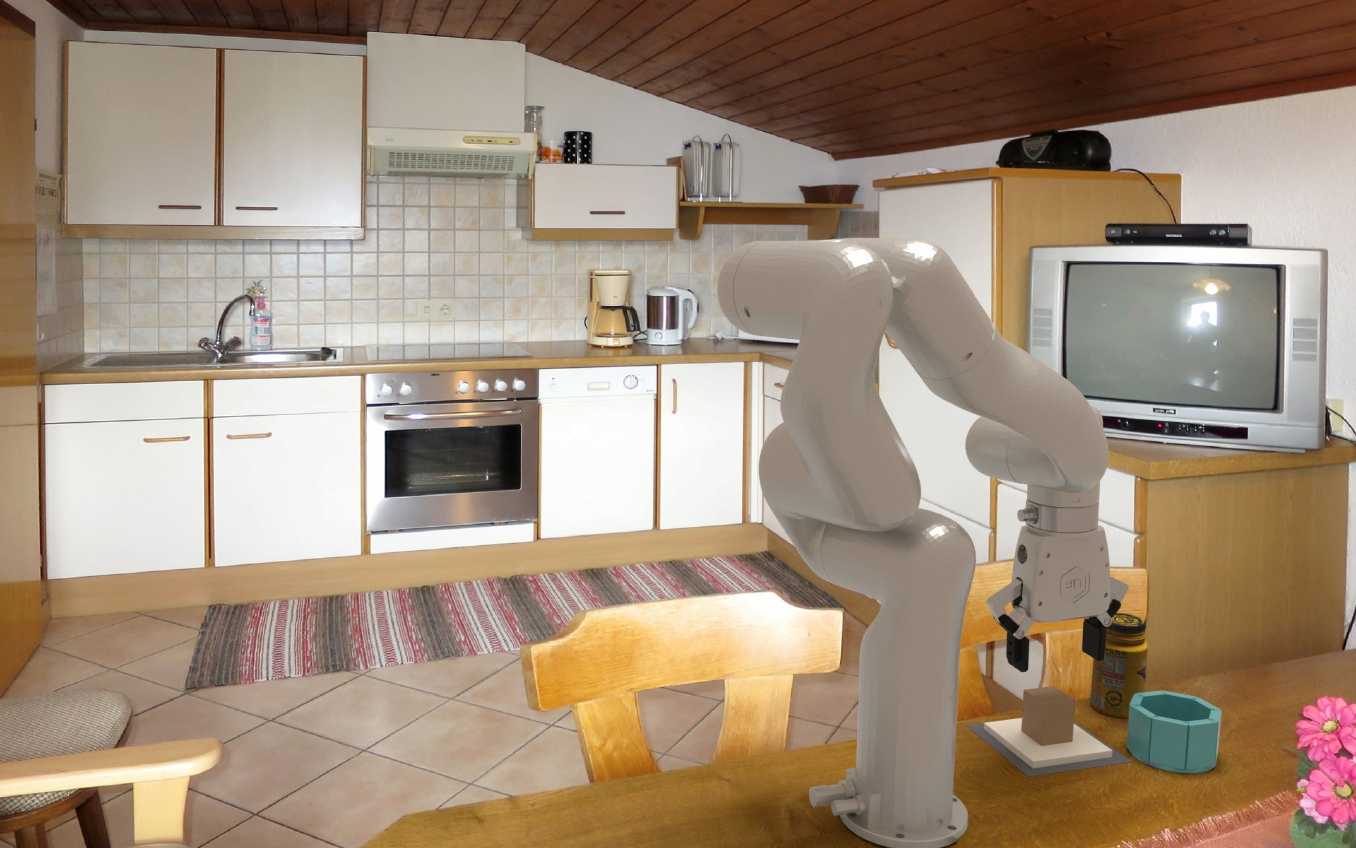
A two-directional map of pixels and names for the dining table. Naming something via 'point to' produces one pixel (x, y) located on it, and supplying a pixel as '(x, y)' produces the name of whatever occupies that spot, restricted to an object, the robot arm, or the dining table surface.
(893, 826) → the robot arm
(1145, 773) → the dining table surface
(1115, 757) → the mat
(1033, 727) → the lid
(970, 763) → the dining table surface
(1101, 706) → the condiment
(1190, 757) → the bowl
